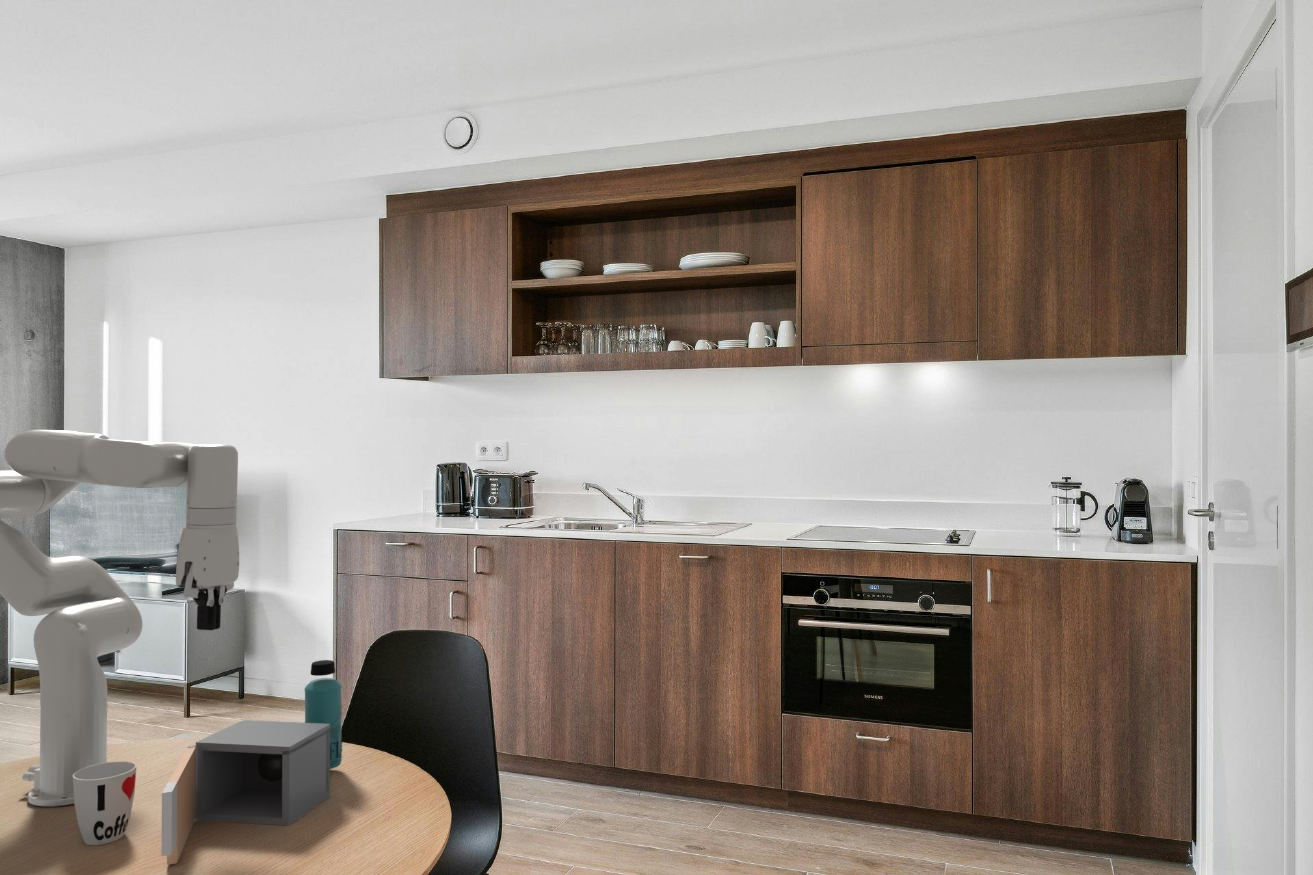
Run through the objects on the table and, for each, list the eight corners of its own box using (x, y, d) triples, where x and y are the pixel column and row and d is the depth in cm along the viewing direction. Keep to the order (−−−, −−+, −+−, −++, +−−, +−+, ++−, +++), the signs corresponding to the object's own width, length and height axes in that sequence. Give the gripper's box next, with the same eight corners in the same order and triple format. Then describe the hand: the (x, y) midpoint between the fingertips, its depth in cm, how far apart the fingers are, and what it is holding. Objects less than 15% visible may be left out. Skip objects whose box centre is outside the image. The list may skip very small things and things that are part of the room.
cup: (89, 854, 126) (89, 783, 126) (61, 841, 130) (61, 773, 131) (146, 833, 133) (147, 766, 133) (118, 822, 137) (119, 757, 138)
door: (187, 818, 138) (188, 745, 138) (196, 817, 138) (196, 744, 138) (161, 877, 118) (161, 792, 118) (171, 875, 118) (171, 791, 119)
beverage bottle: (329, 780, 155) (329, 666, 155) (295, 778, 156) (295, 664, 156) (349, 768, 161) (349, 657, 162) (316, 765, 162) (317, 656, 163)
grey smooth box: (195, 819, 138) (195, 742, 139) (242, 790, 150) (243, 719, 150) (289, 825, 136) (289, 746, 136) (330, 796, 148) (330, 723, 148)
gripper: (221, 514, 155) (218, 619, 154) (158, 520, 140) (155, 636, 140) (260, 516, 153) (257, 622, 153) (200, 522, 139) (196, 639, 138)
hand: (208, 628), depth 146 cm, fingers closed
